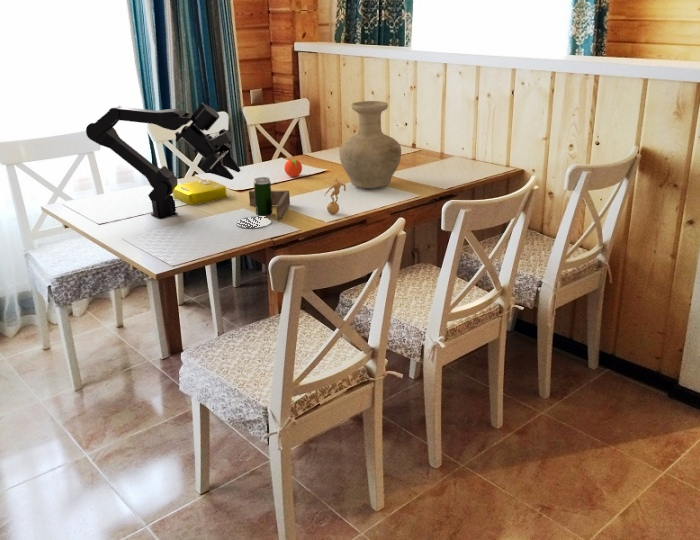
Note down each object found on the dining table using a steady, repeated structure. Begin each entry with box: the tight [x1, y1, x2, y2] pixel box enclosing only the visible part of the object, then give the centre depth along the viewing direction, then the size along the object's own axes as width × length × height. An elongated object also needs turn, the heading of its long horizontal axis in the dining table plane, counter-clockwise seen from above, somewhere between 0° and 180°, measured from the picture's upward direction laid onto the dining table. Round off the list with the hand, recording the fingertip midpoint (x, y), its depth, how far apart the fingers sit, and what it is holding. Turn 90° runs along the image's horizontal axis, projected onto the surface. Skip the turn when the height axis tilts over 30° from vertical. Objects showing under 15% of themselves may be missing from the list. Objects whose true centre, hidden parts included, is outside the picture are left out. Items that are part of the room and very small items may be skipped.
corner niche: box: [248, 190, 291, 221], centre depth 226 cm, size 14×18×5 cm
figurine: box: [324, 178, 347, 215], centre depth 221 cm, size 8×6×12 cm
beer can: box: [253, 176, 273, 217], centre depth 222 cm, size 5×5×12 cm
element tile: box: [172, 178, 228, 206], centre depth 245 cm, size 15×15×5 cm
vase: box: [338, 100, 402, 189], centre depth 248 cm, size 22×22×30 cm
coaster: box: [236, 215, 268, 228], centre depth 217 cm, size 11×11×1 cm
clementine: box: [284, 158, 303, 178], centre depth 267 cm, size 8×7×7 cm
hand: (236, 175), depth 220 cm, fingers open, 9 cm apart
